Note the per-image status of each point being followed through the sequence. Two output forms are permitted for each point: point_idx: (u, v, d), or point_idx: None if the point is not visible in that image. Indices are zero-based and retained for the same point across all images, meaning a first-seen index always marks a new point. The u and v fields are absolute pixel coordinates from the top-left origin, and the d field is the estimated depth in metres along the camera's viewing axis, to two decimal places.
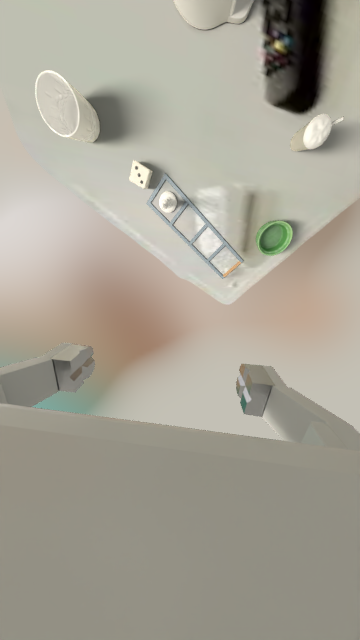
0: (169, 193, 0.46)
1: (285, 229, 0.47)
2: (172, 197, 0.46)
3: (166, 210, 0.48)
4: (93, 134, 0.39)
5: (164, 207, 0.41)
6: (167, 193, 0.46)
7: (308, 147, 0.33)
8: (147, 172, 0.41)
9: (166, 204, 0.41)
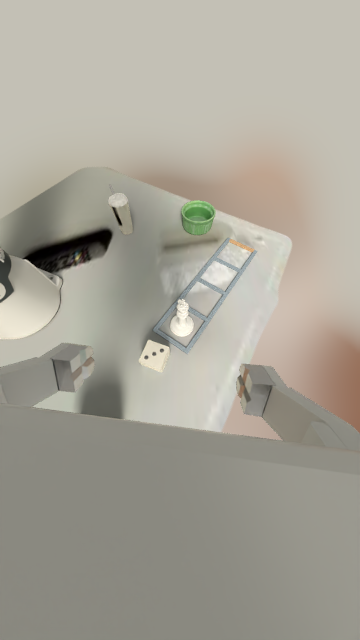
0: (171, 322, 0.35)
1: (188, 211, 0.47)
2: (175, 317, 0.35)
3: (191, 324, 0.35)
4: None
5: None
6: (172, 324, 0.35)
7: (126, 201, 0.40)
8: (150, 342, 0.30)
9: None
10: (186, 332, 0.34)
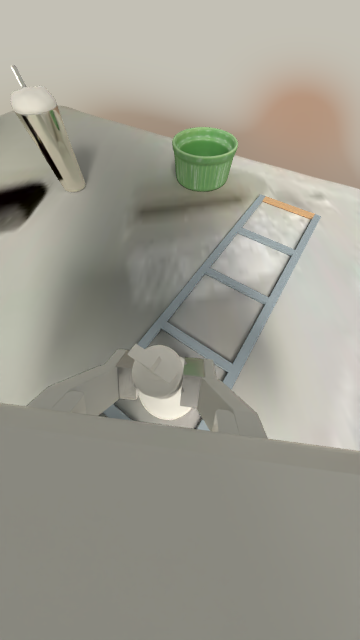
0: None
1: (185, 150, 0.26)
2: None
3: None
4: None
5: (170, 361, 0.07)
6: None
7: (50, 102, 0.18)
8: None
9: (154, 351, 0.07)
10: (179, 412, 0.12)
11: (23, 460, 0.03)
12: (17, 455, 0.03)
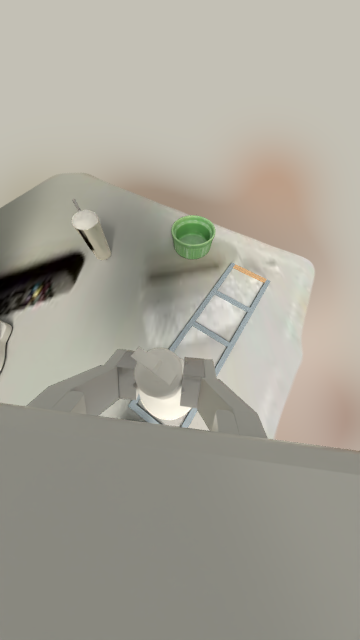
0: None
1: (180, 229, 0.37)
2: None
3: None
4: None
5: (171, 363, 0.07)
6: None
7: (96, 220, 0.30)
8: None
9: (156, 353, 0.07)
10: (179, 412, 0.13)
11: (23, 460, 0.03)
12: (17, 455, 0.03)
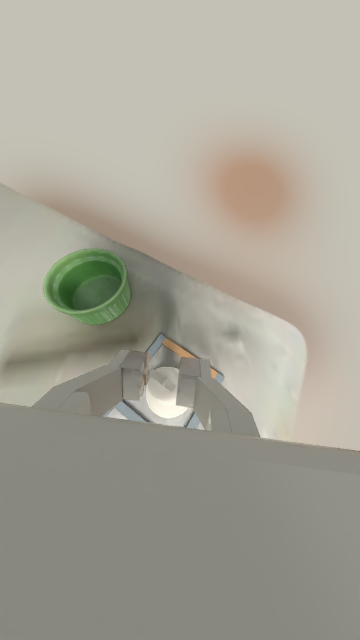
0: None
1: (77, 271, 0.22)
2: None
3: None
4: None
5: (172, 378, 0.11)
6: (148, 392, 0.17)
7: None
8: None
9: (162, 370, 0.11)
10: (177, 412, 0.16)
11: (23, 460, 0.03)
12: (17, 455, 0.03)
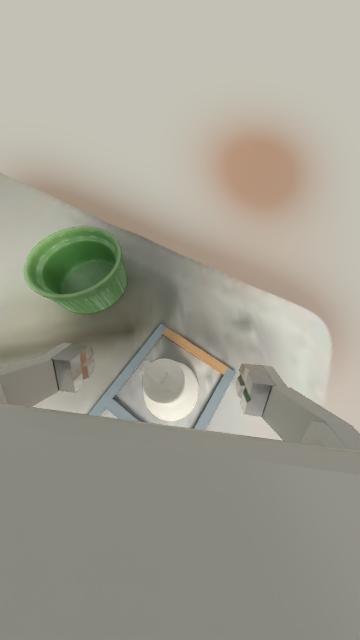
0: None
1: (65, 253, 0.19)
2: None
3: (192, 391, 0.14)
4: None
5: (174, 373, 0.08)
6: None
7: None
8: None
9: (161, 363, 0.08)
10: (180, 414, 0.14)
11: (23, 460, 0.03)
12: (17, 455, 0.03)
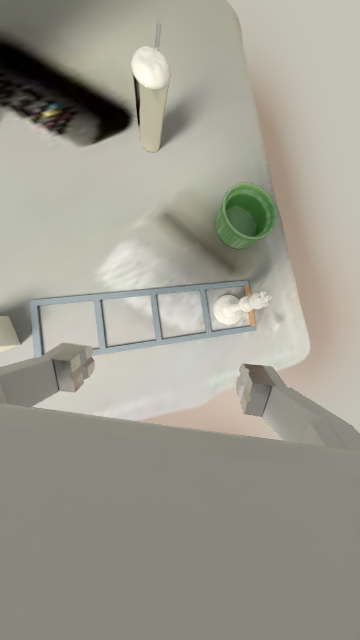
0: (223, 298, 0.27)
1: (243, 197, 0.28)
2: (230, 297, 0.28)
3: (236, 318, 0.27)
4: None
5: None
6: (221, 300, 0.27)
7: (160, 84, 0.20)
8: None
9: None
10: (225, 320, 0.27)
11: (23, 460, 0.03)
12: (17, 455, 0.03)
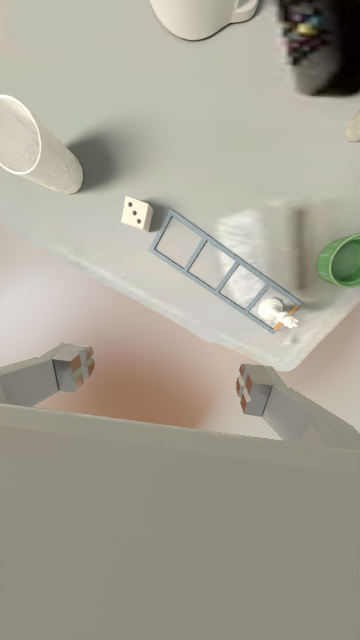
0: (275, 300, 0.35)
1: None
2: (279, 304, 0.35)
3: (269, 318, 0.37)
4: (72, 179, 0.29)
5: None
6: (272, 300, 0.35)
7: None
8: (145, 207, 0.29)
9: None
10: (261, 313, 0.37)
11: (23, 460, 0.03)
12: (17, 455, 0.03)
